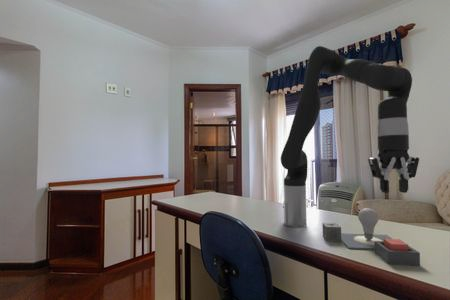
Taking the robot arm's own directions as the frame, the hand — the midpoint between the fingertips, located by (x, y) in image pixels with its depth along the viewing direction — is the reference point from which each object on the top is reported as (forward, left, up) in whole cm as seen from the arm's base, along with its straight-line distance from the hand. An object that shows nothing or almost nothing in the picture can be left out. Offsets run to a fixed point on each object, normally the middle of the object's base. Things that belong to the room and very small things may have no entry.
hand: (394, 192), depth 70 cm
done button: (0, 0, -17) cm, 17 cm away
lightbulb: (-2, +13, -19) cm, 23 cm away
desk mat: (-2, +13, -19) cm, 23 cm away
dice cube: (-13, +15, -20) cm, 28 cm away
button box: (0, 0, -19) cm, 19 cm away
